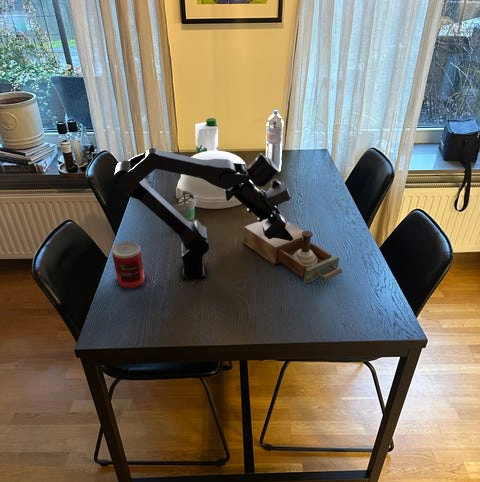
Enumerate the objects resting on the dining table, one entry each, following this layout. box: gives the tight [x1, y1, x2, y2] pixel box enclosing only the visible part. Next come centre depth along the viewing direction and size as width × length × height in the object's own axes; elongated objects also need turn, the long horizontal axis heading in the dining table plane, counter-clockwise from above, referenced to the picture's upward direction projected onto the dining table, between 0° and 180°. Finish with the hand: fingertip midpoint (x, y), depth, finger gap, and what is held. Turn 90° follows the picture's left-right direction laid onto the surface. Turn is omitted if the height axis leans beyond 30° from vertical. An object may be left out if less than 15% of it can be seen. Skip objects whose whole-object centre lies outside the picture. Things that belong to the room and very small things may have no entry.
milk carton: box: [194, 117, 219, 154], centre depth 190 cm, size 9×9×20 cm
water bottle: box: [264, 109, 285, 175], centre depth 186 cm, size 7×7×25 cm
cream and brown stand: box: [292, 230, 318, 268], centre depth 133 cm, size 8×8×9 cm
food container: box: [171, 191, 196, 223], centre depth 153 cm, size 12×6×10 cm, turn 168°
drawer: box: [277, 239, 343, 284], centre depth 134 cm, size 19×12×4 cm, turn 36°
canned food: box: [111, 241, 146, 289], centre depth 127 cm, size 8×8×11 cm
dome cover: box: [175, 150, 254, 210], centre depth 174 cm, size 32×30×14 cm
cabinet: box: [243, 219, 304, 265], centre depth 144 cm, size 16×14×6 cm
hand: (289, 231), depth 129 cm, fingers open, 9 cm apart
